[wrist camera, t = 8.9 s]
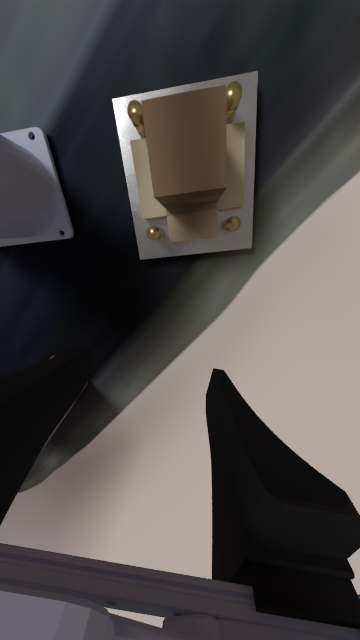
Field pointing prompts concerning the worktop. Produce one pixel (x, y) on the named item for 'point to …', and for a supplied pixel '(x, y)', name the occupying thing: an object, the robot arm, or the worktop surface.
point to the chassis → (231, 222)
